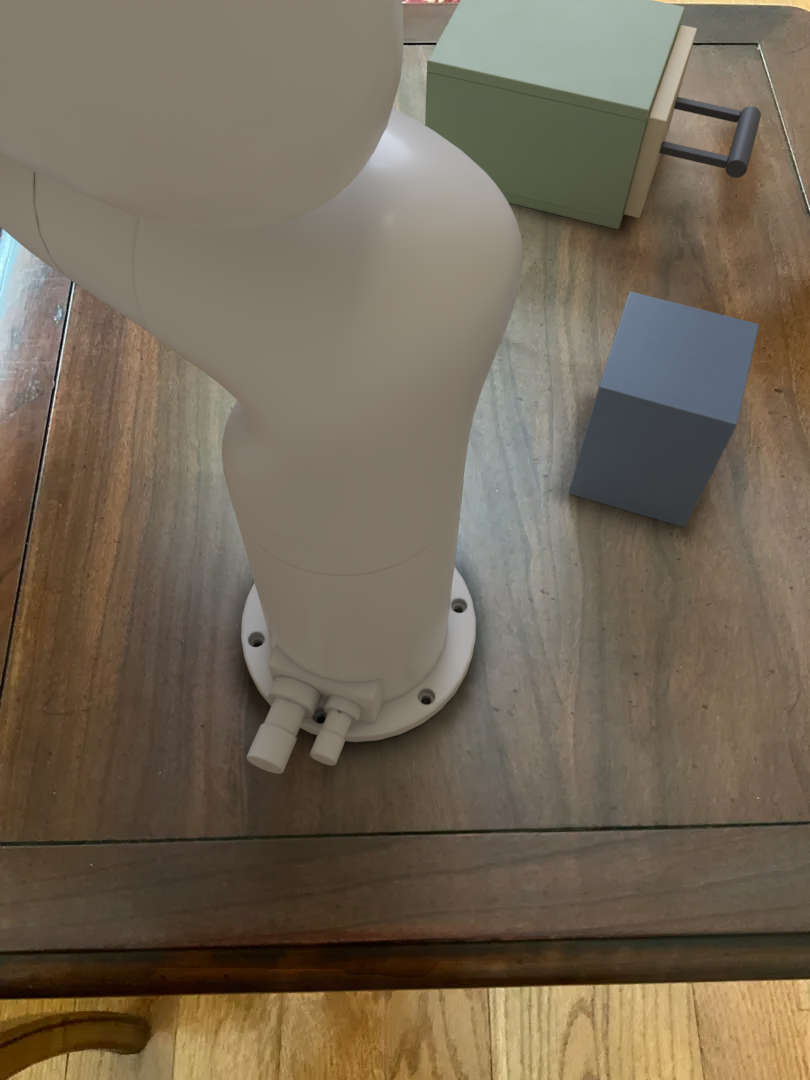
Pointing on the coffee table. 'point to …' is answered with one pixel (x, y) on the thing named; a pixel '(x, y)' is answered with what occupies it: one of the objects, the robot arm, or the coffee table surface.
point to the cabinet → (552, 96)
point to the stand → (664, 408)
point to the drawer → (670, 101)
